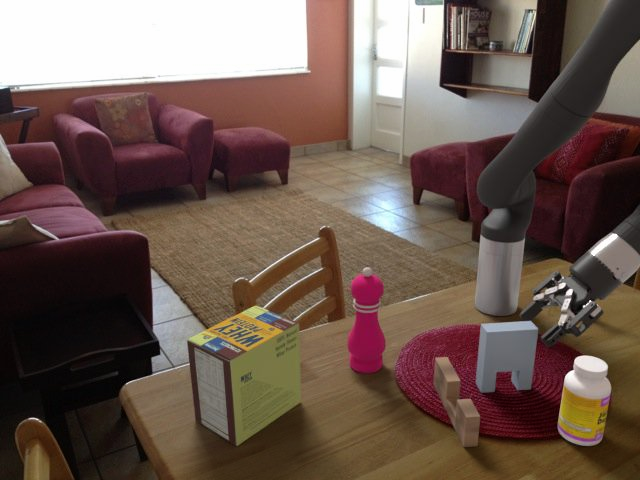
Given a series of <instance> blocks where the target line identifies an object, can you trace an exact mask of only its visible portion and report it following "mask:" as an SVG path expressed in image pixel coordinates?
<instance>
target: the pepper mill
mask: <svg viewBox="0 0 640 480" xmlns="http://www.w3.org/2000/svg"><path fill="white" fill-rule="evenodd" d="M384 286H385V285H384V283H383V281H382V279H381V278H380V277H379V276H377V275H375V274H373V270H372V268H370V267H364V268H363V270H362V274H359V275H357V276H356V277H355V278H354V279H352V282H351V283H350V294H351V296H352V297H353V298H354V299H353V301H352V303H353V306H352V307H353V309H354V310H355V320H354V324H353V327H352V329H351V330H350V331H349V334H348V337H347V340H346V341H347V342H346V346H347V350H348V352H349V353H350V354H349V366H350V368H351V369H353V370H354V371H355V372H358V373H363V374H370V373H371V374H372V373H375V372H377V371H380V370H381V368H382V367H383V365H384V364H383V362H384V360H383V353H384V352H385V350H386V347H387V345H386V338H385V335H384V332H383V330H382V328H381V326H380V323H379V311H380V309H381V303H382V301H381V298H382V297H383V295H384V292H385V290H384V289H385V288H384Z"/></svg>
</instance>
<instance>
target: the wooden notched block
mask: <svg viewBox="0 0 640 480" xmlns="http://www.w3.org/2000/svg"><path fill="white" fill-rule="evenodd" d="M433 372H434V373H433V386H434V388H435V390H436V393H437V395H438V396H439V398H440V401H441V403H442V405H443V407H444V409H445V411H447V412H446V413H447V415H448V418H449V419H450V422H451V424H452V426H453V428H454V430H455V433H456V435H457V436H458V439H459V441H460V442H461V445H462V447H463V448H471V447H478V444H479V433H480V423H481V415H480V413H479V412H478V409H477V408H476V406H475V404H474V403H473V400H472V399H471V398H462V399H461V398H460V394H461V393H460V392H461V379H460V377H459V376H458V374H457V372H456V370H455V368H454V366H453V365H452V362H451V361H450V359H449V357H448V356H440V357H434V371H433Z"/></svg>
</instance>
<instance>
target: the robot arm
mask: <svg viewBox="0 0 640 480" xmlns="http://www.w3.org/2000/svg"><path fill="white" fill-rule="evenodd" d="M639 41H640V0H609V1H608V2H607V5H606V6H605V7H604V10H603V11H602V13H601V14H600V15H599V18H598V19H597V21H596V23H595V24H594V26H593V28H592V30H590V33H589V34H588V36H587V37H586V39H585V40H584V42H583V43H582V44H581V46H580V47H579V48H578V49H577V51H576V52H575V54H574V55H572V57H571V59H570V60H569V62H568V63H567V64H566V66H565V67H564V68H563V69H562V71H561V72H560V74H559V75H558V76H557V78H556V79H555V80H554V81H553V82H552V84H551V85H550V86H549V88H548V89H547V90H546V92H545V93H544V94H543V96H542V97H541V98H540V100H539V101H537V104H536V105H535V106H534V108H533V109H532V111H531V112H530V114H528V117H527V118H526V119H525V120H524V121H523V123H522V124H521V126H520V127H519V128H518V129H517V131H516V133H515V134H514V135H513V137H512V138H511V140H510V141H509V142H507V144H506V145H505V146H504V148H503V149H502V150H501V151H500V152H499V153H498V154H497V155H496V156H495V158H493V159H492V161H490V162H489V164H487V166H486V167H485V168H484V169H483V171H482V172H481V173H480V175H479V177H478V179H477V184H476V193H477V197H478V200H479V202H480V203H481V204H482V205H484V206H485V207H487V208H489V209H492V210H491V211H490V212H489V214H488V215H487V216H486V217H485V219H483V220H482V222H481V228H480V236H479V237H480V238H479V249H478V250H479V251H478V252H479V253H478V261H477V263H478V264H477V276H476V287H475V296H474V297H475V299H474V307H475V308H476V309H477V311H479V312H481V313H483V314H485V315H489V316H497V317H505V316H506V317H508V316H510V315H513V314H515V313H517V310H518V303H519V302H518V301H519V297H520V296H519V294H520V286H521V277H522V268H523V259H524V252H525V251H524V249H525V241H526V232H527V230H528V228H529V226H530V224H531V221H532V217H533V211H534V206H535V205H534V204H535V199H536V192H537V191H536V190H537V179H536V176H535V172H534V170H535V169H536V167H537V166H538V165H539V164H540V163H542V162H543V161H544V160H545V159H547V158H548V157H550V156H551V155H552V154H554V153H555V152H556V151H558V150H559V149H561V148H562V147H563V146H564V145H566V144H567V143H568V142H569V141H571V140H572V139H573V138H574V137H575V136H576V135H577V134H578V133H579V132H581V130H582V129H583V127H584V126H586V124H587V123H588V122H589V121H590V119H591V118H592V117H593V116H594V114H595V113H596V111H598V110H599V108H600V107H601V105H602V103H603V101H604V99H605V97H606V94H607V91H608V88H609V85H610V82H611V79H612V76H613V75H614V72H615V70H616V68H617V67H618V66H619V64H620V63H621V61H622V60H623V59H624V58H625V56H626V55H627V54H628V53H629V52H630V51H631V50H632V49H633V47H634V46H636V45H637V43H638V42H639ZM639 268H640V204H638V206H637V207H636V208H635V209H634V211H633V213H632V214H630V215H629V216H628V217H626V218H625V219H624V220H623V221H622V222H620V223H619V225H617V226H616V227H615V228H614V229H613V230H612V231H611V232H609V233H608V234H607V235H605V236H604V237H602V238H601V239H600V240H598V241H597V242H596V243H595V244H594V245H593V246H592V247H590V249H588V250H587V251H586V252H585V253H584V254H583V255H582V256H580V257H579V258H578V259H577V260H576V261H575V262H574V263H573V264H572V265H570V266H569V268H568V271H569V272H570V274H569V275H567V276H566V277H565V276H564V275H562V274H561V273H560V271H559V270H555V271H553V272H552V273H551V274H550V275H548V276H547V277H545V279H544V280H543V281H542V282H539V284H538V285H537V286H536V287H534V288H533V289H532V291H531V294H532V295H533V298H532V299H533V300H532V301H531V302H530V303H529V304H528V305H526V307H525V308H523V309H522V310H521V312H520V313H519V317H520V318H521V319H522V320H523V321H532V320H533V319H535V318H536V317H537V316H538V315H539V314H540V313H541V312H542V311H544V310H543V309H546V308H550V307H555V308H556V307H560V318H559V320H558V322H557V323H554V324H553V326H552V327H550V328H549V329H547V330H546V331H545V333H543V334H542V335H541V336H540V338H539V339H540V341H541V342H542V343H543V344H544V346H546V347H547V348H550V347H552V346H554V345H556V344H557V343H558V342H559V341H560V340H562V338H563V337H565V336H566V335H570V334H571V335H573V336H574V337H577V338H579V337H580V336H581V335H582V334H584V333H585V332H586V331H587V330H588V329H589V328H590V327H591V326H592V325H593V324H594V323H596V321H597V320H598V319H599V318H601V316H603V314H604V313H605V312H604V310H603V309H602V307H601V306H600V305H599V304H597V303H596V301H597V300H599V301H603V300H606V299H607V298H608V297H609V296H610V295H611V294H612V293H614V291H616V289H618V288H619V287H620V286H622V285H623V284H624V282H626V281H627V280H628V279H629V278H630V277H632V276H633V275H634V274H635V273H636V272H637V271H638V270H639ZM545 288H546V289H545ZM543 290H544V291H543ZM542 291H543V292H542ZM573 313H574V314H573ZM580 322H582V323H581V324H580ZM579 324H580V325H579ZM577 325H579V326H578V327H577Z"/></svg>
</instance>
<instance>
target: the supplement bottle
mask: <svg viewBox="0 0 640 480" xmlns="http://www.w3.org/2000/svg"><path fill="white" fill-rule="evenodd" d="M608 368H609V365H608V364H607V363H606V362H605V360H603V359H600V357H599V358H598V357H595V356H592V355H580V356H577V357H575V359H574V362H573V370H570V371H568V372H567V374H566V375H565V377H564V381H563V388H562V393H561V401H560V406H559V407H560V408H559V414H558V421H557V430H558V433H559V435H560V436H561V437H562V438H564V439H565V440H566V441H567V442H569V443H572V444H575V445H578V446H582V447H583V446H585V447H592V446H596V445H598V444H599V443H600V442H601V441H602V440H603V437H604V431H605V426H606V420H607V416H608V412H609V404H610V399H611V395H612V384H611V383H610V380H609V378H607V375H608V370H609V369H608Z"/></svg>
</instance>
